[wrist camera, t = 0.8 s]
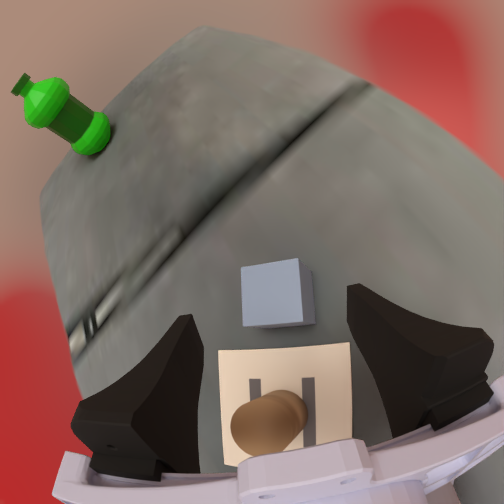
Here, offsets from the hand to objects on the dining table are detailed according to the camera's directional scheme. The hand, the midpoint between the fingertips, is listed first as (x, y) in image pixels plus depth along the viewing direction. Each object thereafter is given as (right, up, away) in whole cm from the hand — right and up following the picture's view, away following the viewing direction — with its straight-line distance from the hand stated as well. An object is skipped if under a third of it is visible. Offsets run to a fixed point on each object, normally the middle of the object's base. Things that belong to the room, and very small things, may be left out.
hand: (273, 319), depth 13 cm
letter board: (+2, -12, +11) cm, 17 cm away
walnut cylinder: (+2, -12, +11) cm, 16 cm away
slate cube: (+3, -2, +14) cm, 15 cm away
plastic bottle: (-33, +26, +40) cm, 58 cm away
